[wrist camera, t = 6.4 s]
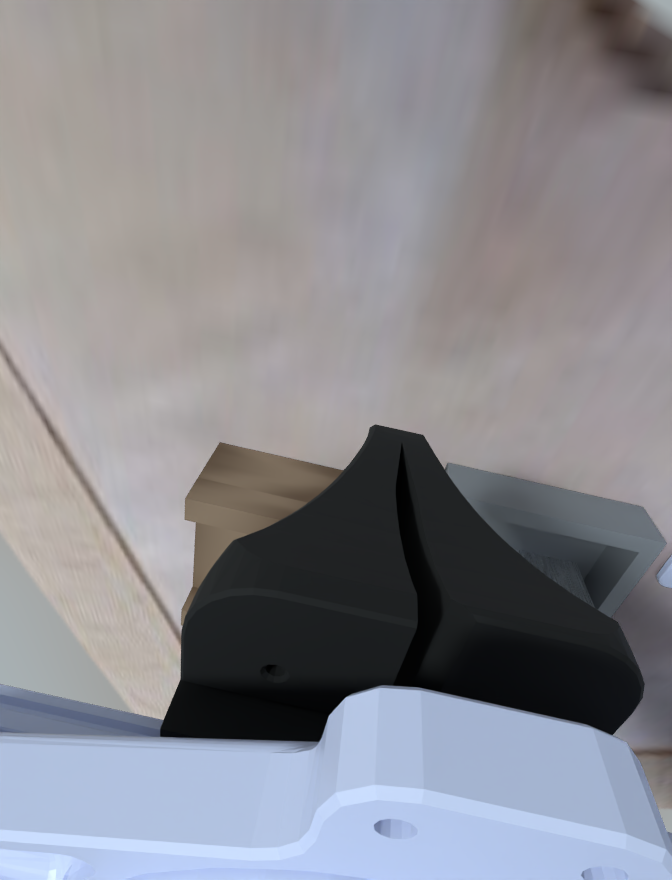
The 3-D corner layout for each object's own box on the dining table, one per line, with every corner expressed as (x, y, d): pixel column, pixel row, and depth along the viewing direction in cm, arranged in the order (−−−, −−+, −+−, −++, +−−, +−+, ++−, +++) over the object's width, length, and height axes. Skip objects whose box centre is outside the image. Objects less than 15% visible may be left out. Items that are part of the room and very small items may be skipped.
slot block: (436, 491, 24) (442, 556, 20) (394, 603, 29) (392, 673, 25) (219, 442, 24) (185, 498, 21) (210, 561, 29) (181, 625, 25)
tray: (642, 506, 23) (666, 543, 21) (540, 657, 30) (550, 697, 28) (447, 462, 23) (451, 494, 21) (386, 622, 30) (385, 659, 28)
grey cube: (499, 545, 25) (576, 563, 25) (473, 597, 27) (543, 613, 27) (514, 609, 22) (603, 629, 22) (483, 663, 24) (564, 681, 24)
